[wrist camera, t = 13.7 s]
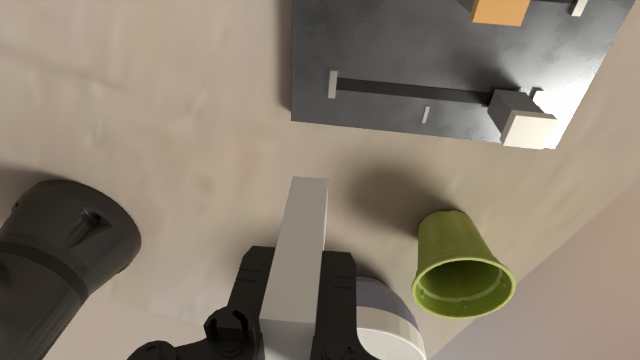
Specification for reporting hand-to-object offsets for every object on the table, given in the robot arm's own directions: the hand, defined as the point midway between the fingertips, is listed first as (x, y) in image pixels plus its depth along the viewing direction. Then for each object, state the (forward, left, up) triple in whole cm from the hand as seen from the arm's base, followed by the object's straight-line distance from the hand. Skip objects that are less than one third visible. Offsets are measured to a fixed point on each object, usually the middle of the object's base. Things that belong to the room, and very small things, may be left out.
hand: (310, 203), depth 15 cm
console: (+8, +3, -19) cm, 21 cm away
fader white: (+14, -1, -17) cm, 22 cm away
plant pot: (+14, -18, -19) cm, 30 cm away
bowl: (+6, -33, -19) cm, 38 cm away
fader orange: (+9, +7, -17) cm, 21 cm away
